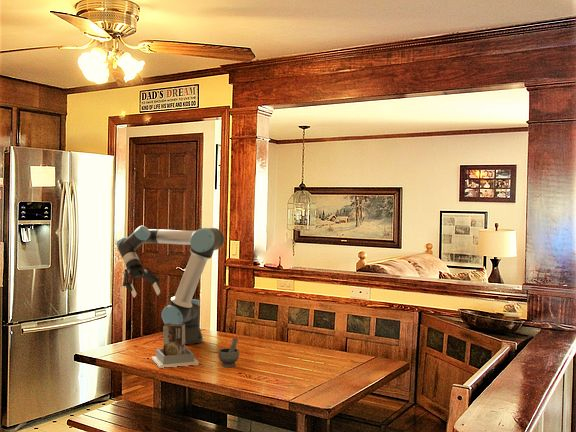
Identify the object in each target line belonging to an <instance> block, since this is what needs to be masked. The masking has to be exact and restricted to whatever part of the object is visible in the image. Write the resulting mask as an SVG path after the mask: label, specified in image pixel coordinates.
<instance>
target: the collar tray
mask: <svg viewBox="0 0 576 432" xmlns="http://www.w3.org/2000/svg"><path fill="white" fill-rule="evenodd" d="M155 352H156V353H155V354H156V355H154V356H153V355H151V358H152V360H153V361H154V362H155V363H156V364H157V365H156V364H155V363H154V362H153V361H152V360H151V361H152V362H153V363H154V364H155V365H156V367H157V366H158V367H159V368H163V369H165V368H164V367H174V368H178V367H177V366H185V367H189V366H188V365H196V366H200V361H198V359H196V358H195V353H193V352H192V351H191V350H190V349H189V348H188V347H186V346H185V354H183V355H171V356H165V355H164V354H163V348H155ZM151 358H150V359H151ZM158 367H157V368H158ZM159 368H158V369H159Z"/></svg>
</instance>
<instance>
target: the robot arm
mask: <svg viewBox="0 0 576 432" xmlns="http://www.w3.org/2000/svg"><path fill="white" fill-rule="evenodd" d="M224 243H225V235H224V233H223V231H221V229H219V228H216V227H209V228H207V227H202V228H199V229H197V230H179V229H177V230H176V229H156V228H152V229H151V228H150V229H149V228H148V227H146V226H144V225H140V226H138V227H137V228H135V229H134V231H133V232H132V233H131V234H130V235H129V236H128V237H127V236H123V237H121V238H119V239H118V240H117V241H116V247H117V250H118V252H119V254H120V256H121V258H122V261H123V264H124V265H125V267H126V268H125V269H124V271H123V281H122V287H125V288H126V289H128V291H129V292H131V293H130V294H131V295H132V297H133V298H136V296H137V294H138V293H137V291H136V289H135V287H134V284H133V283H132V281H133V279H137V278H142V279H144V280H146V281H147V282H149V283H150V284H152V287H153V289H154V291H155V293H156V296H159V295H160V293H161V289H160V286H159V283H160V281H161V279H160V278H159V277H157V276H156V275H155V274H154V273H153V272H152V271H151V270H150V268H149V267H146V268H143V265H142V262H141V261H140V258H139V256H138V254H137V252H136V250H137V249H138V248H139V247H141V245H144V244H145V245H146V244H167V245H169V244H170V245H182V246H183V245H187V246H190V248H189V251H190V256H189V259H188V260H187V261H188V262H187V265H186V266H185V269H184V272H183V274H182V276H181V279H180V282H179V285H178V286H177V290H176V292H175V295H174V296H172V297H171V298H170V299H169V302H168V305H166V306H164V308H163V309H162V310H161V320H162V321H163V324H164V325H165V324H167V323H180V324H185V344H191V345H194V344H193V343H199V344H201V343H200V342H202V341H203V340H204V337H203V335H202V331H201V327H200V326H201V324H200V323H201V322H200V319H201V318H200V316H201V303H200V300H199V299H197V298H196V299H193V296H194V295H195V292H196V289H197V287H198V285H199V282H200V279H201V276H202V274H203V272H204V269H205V267H206V264H207V261H208V260H210V259H212V256H213V255H214V251H217V250H219V249H220V248H222V247H223V245H224ZM129 275H130V277H128V276H129ZM128 278H129V279H128ZM202 343H203V342H202Z"/></svg>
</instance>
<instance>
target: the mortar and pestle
mask: <svg viewBox="0 0 576 432" xmlns="http://www.w3.org/2000/svg"><path fill="white" fill-rule="evenodd" d="M238 342H239V338H236V337H232V341H231V344H230V347H226V348H221V349H218V351H217V352H218V353H217V354H218V355H217V356H218V359H219V361H220V362H221V367H223V368H234V367H236V362H237V361H238V360H239V357H240V349H237V344H238Z"/></svg>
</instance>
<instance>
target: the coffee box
mask: <svg viewBox="0 0 576 432" xmlns="http://www.w3.org/2000/svg"><path fill="white" fill-rule="evenodd" d="M162 327H163V328H162V331H163V333H162V334H163V335H162V337H163V342H162V343H163V347H162V349H163V354H164V355H165V356H171V355H183V354H185V347H186V345H185V324H180V323H167V324H164V325H163V326H162Z"/></svg>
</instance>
